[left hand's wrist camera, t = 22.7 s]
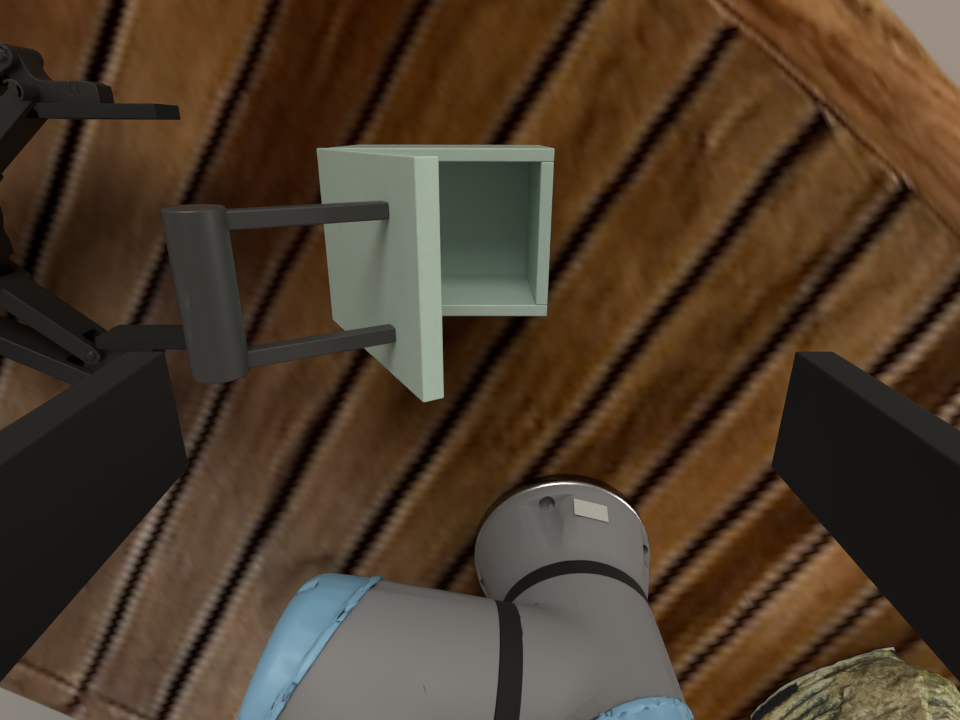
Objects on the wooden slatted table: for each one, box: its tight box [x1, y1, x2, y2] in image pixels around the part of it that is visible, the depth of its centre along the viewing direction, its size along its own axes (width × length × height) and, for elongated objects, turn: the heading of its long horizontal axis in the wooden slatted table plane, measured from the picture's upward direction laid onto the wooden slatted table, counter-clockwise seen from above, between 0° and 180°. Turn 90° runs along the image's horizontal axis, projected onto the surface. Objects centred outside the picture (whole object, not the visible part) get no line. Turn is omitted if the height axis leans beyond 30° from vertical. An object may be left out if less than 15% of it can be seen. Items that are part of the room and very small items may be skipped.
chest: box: [332, 145, 554, 316], centre depth 38 cm, size 12×10×9 cm
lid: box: [160, 148, 444, 402], centre depth 26 cm, size 13×10×9 cm
